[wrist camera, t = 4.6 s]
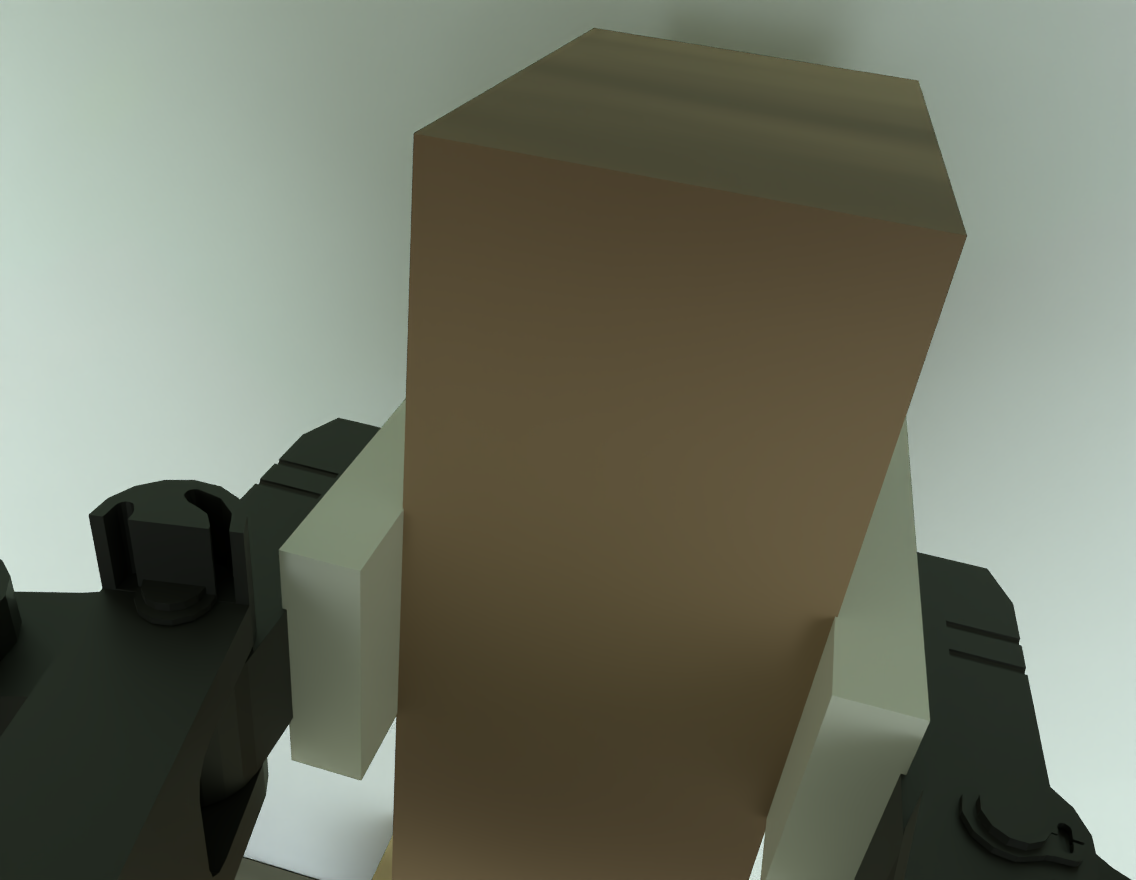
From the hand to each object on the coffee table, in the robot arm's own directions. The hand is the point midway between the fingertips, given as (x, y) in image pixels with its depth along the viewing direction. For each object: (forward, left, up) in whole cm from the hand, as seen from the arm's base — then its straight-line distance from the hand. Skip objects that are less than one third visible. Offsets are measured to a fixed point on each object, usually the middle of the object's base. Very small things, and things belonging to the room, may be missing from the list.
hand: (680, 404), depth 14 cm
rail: (+2, 0, -1) cm, 2 cm away
